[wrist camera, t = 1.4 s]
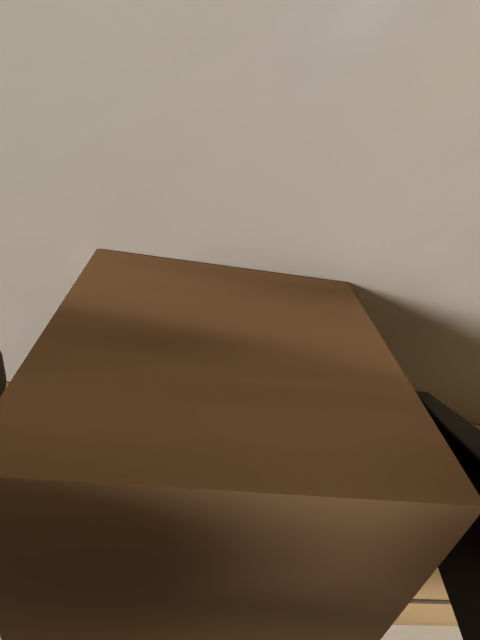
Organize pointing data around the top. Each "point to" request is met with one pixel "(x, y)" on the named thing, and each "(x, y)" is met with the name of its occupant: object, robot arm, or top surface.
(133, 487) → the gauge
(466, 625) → the robot arm
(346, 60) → the top surface
